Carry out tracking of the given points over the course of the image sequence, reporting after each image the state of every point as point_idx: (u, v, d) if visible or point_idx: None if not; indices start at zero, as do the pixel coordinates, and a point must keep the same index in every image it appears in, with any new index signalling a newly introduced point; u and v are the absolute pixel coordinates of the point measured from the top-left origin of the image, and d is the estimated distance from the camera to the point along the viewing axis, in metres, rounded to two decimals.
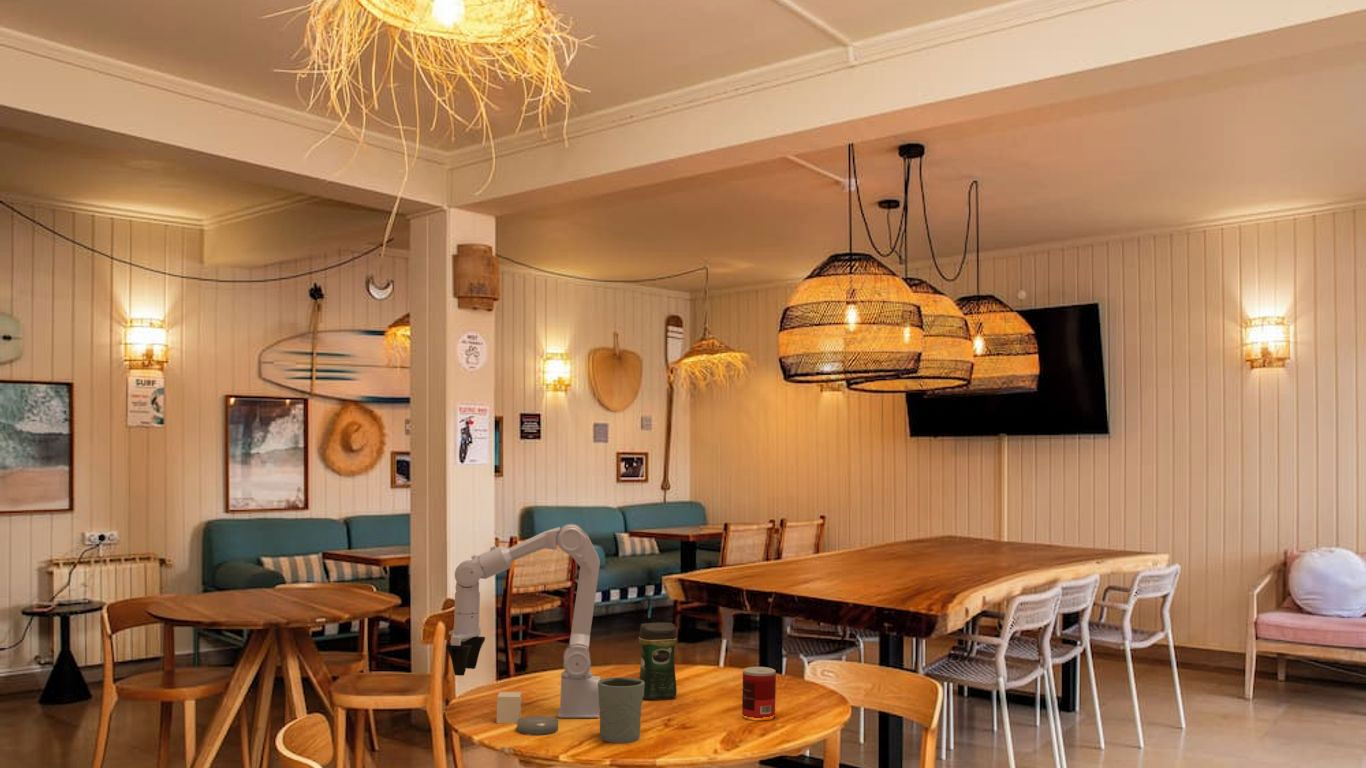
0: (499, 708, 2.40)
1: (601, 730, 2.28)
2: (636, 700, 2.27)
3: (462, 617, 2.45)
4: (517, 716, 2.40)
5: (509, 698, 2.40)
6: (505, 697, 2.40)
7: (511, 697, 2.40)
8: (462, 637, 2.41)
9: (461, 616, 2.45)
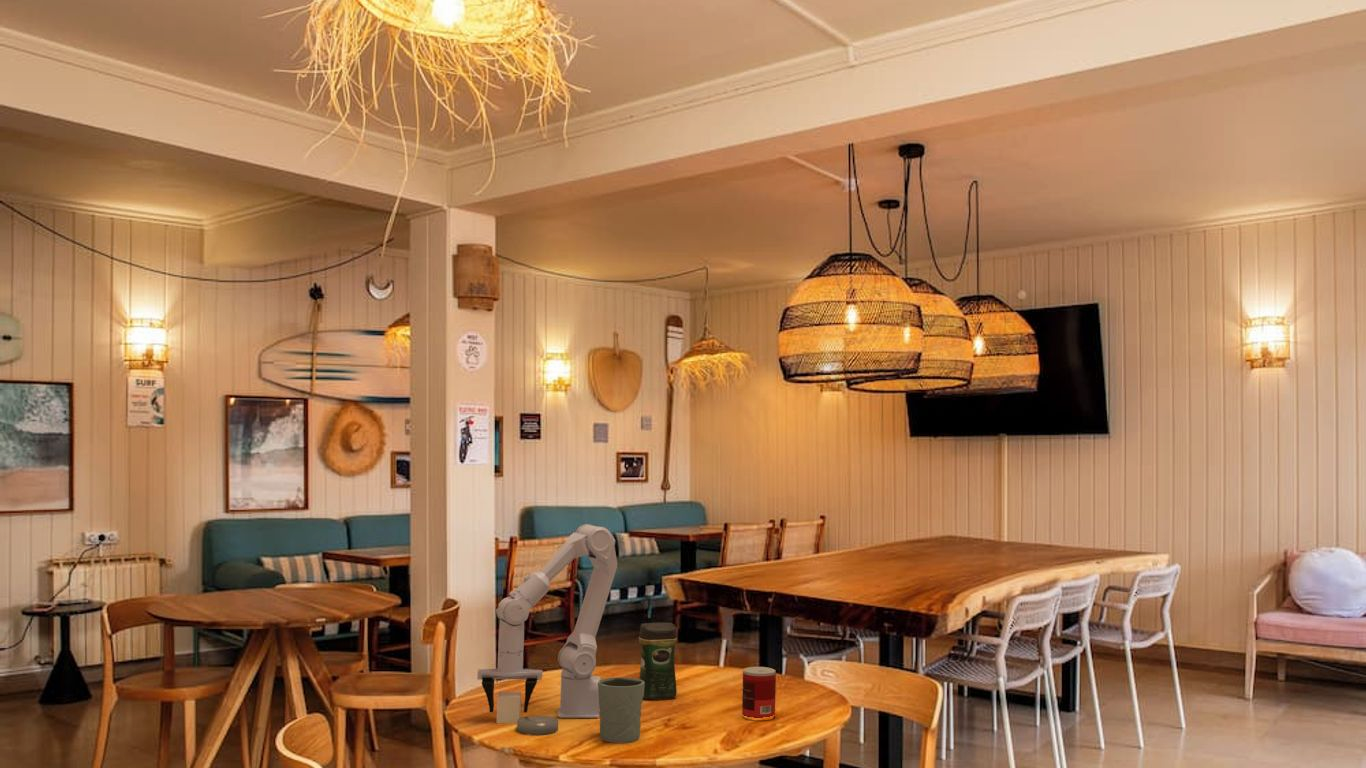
0: (499, 708, 2.40)
1: (601, 730, 2.28)
2: (636, 700, 2.27)
3: (498, 653, 2.43)
4: (517, 716, 2.40)
5: (509, 698, 2.40)
6: (505, 697, 2.40)
7: (511, 697, 2.40)
8: (483, 672, 2.41)
9: None
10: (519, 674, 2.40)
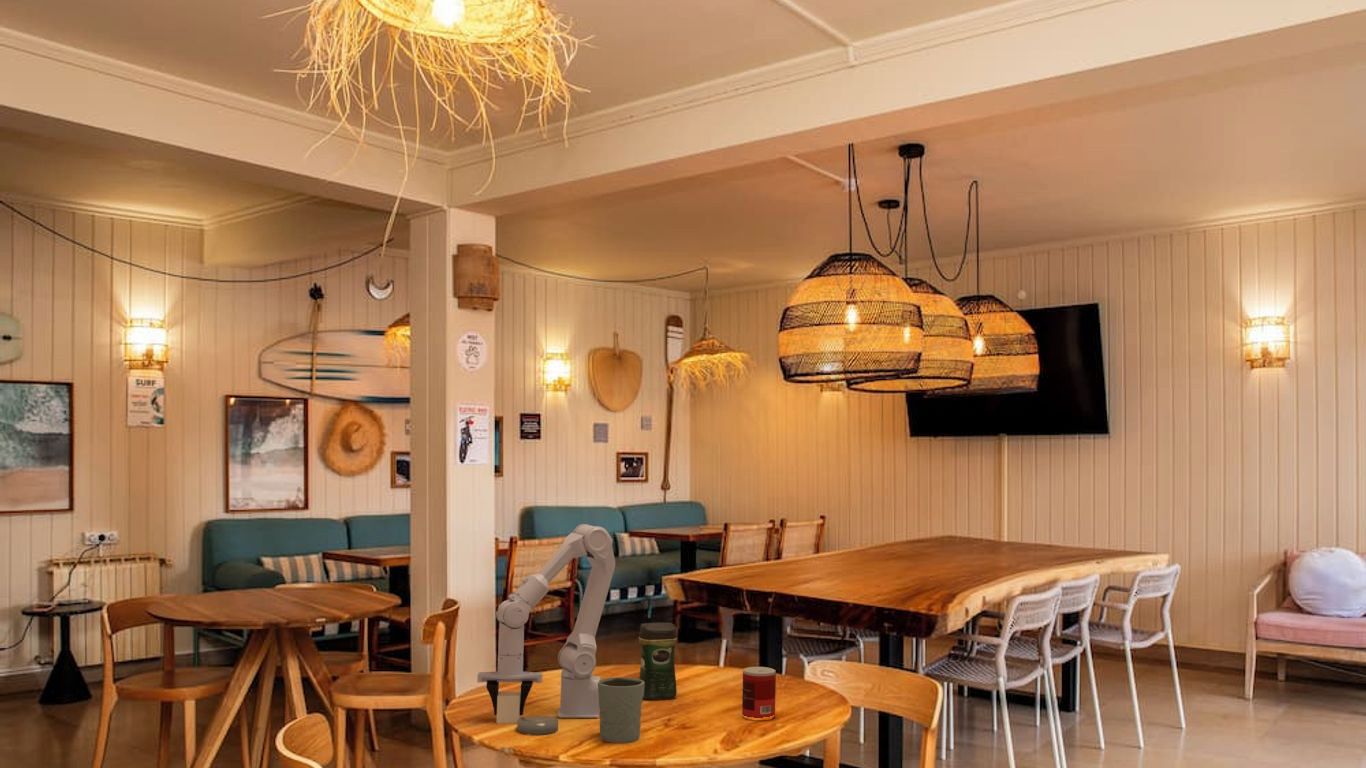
0: (499, 708, 2.40)
1: (601, 730, 2.28)
2: (636, 700, 2.27)
3: (498, 656, 2.43)
4: (517, 716, 2.40)
5: (509, 698, 2.40)
6: (505, 697, 2.40)
7: (511, 697, 2.40)
8: (483, 675, 2.41)
9: None
10: (519, 677, 2.40)
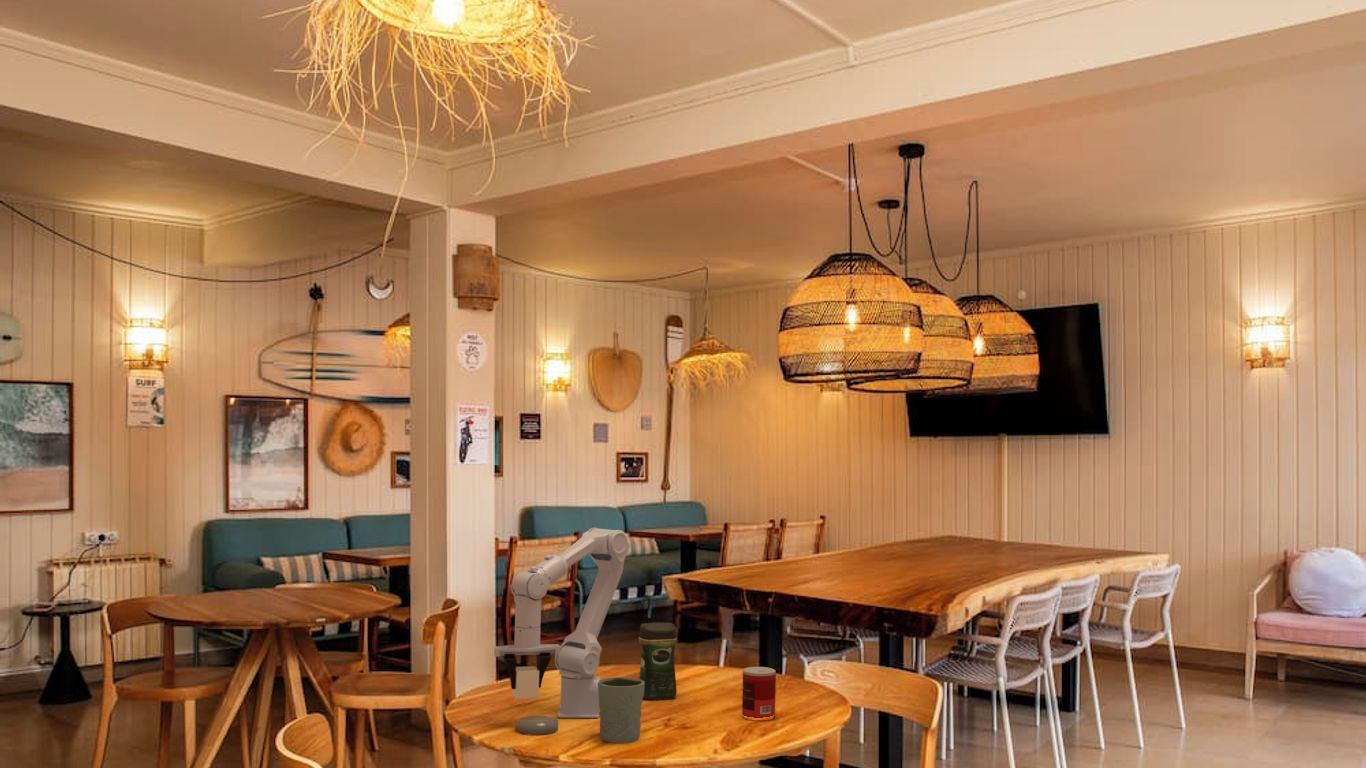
0: (518, 683, 2.35)
1: (601, 730, 2.28)
2: (636, 700, 2.27)
3: (515, 629, 2.38)
4: (537, 690, 2.37)
5: (529, 672, 2.36)
6: (524, 671, 2.36)
7: (530, 671, 2.37)
8: (502, 649, 2.36)
9: (515, 628, 2.39)
10: (539, 649, 2.37)
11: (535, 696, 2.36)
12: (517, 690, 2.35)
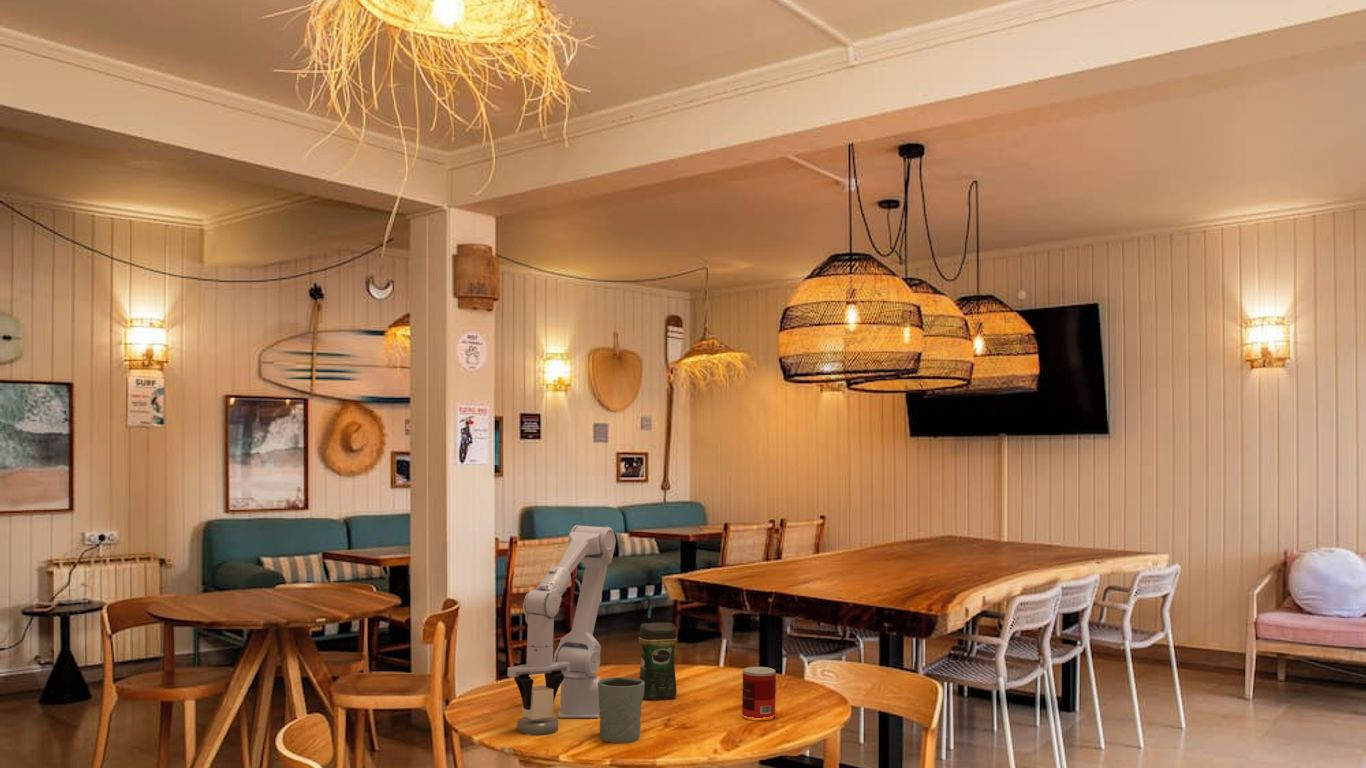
0: (534, 704, 2.32)
1: (601, 730, 2.28)
2: (636, 700, 2.27)
3: (528, 649, 2.34)
4: (551, 709, 2.34)
5: (544, 692, 2.33)
6: (540, 691, 2.33)
7: (545, 690, 2.34)
8: (517, 669, 2.31)
9: (528, 648, 2.34)
10: (553, 667, 2.35)
11: (550, 715, 2.34)
12: (533, 710, 2.32)
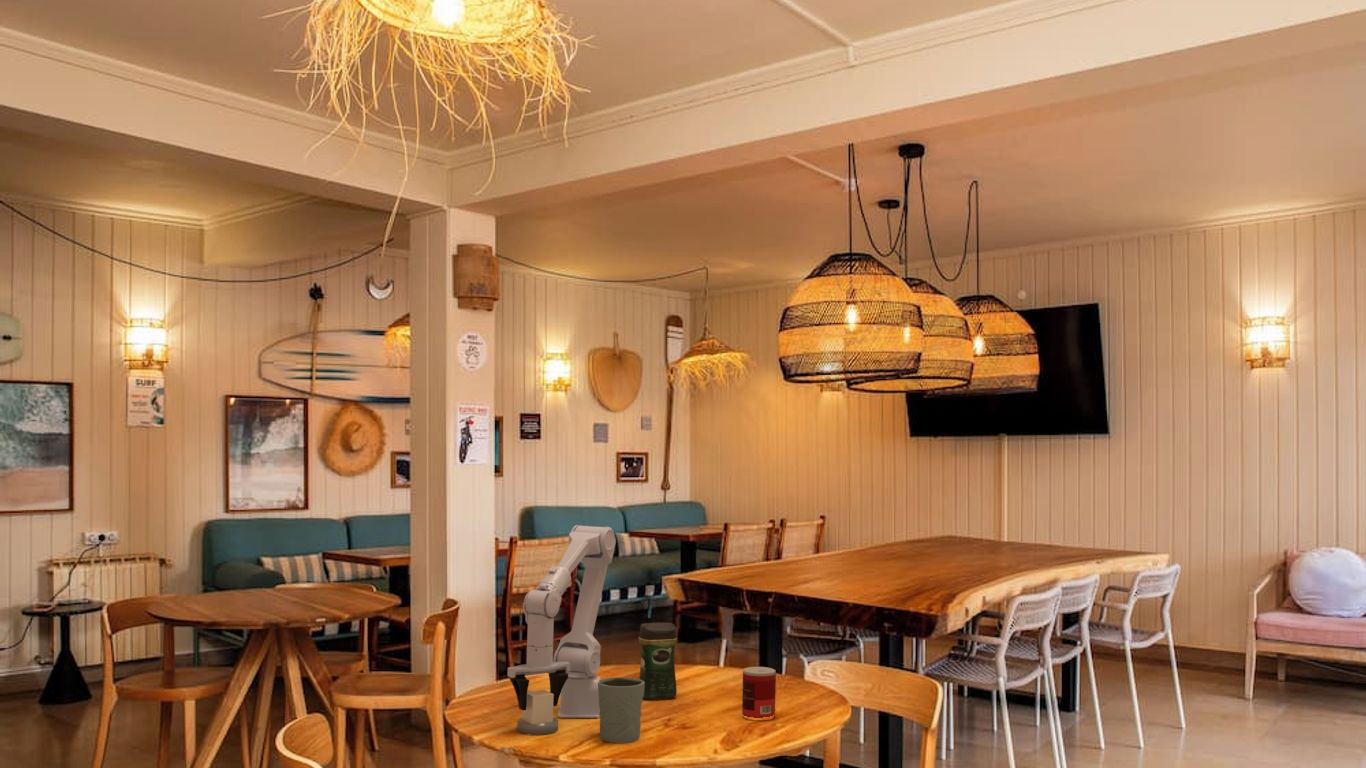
0: (534, 708, 2.32)
1: (601, 730, 2.28)
2: (636, 700, 2.27)
3: (528, 649, 2.34)
4: (551, 714, 2.34)
5: (544, 696, 2.33)
6: (540, 696, 2.33)
7: (545, 695, 2.34)
8: (517, 669, 2.31)
9: (528, 648, 2.34)
10: (553, 667, 2.35)
11: (550, 720, 2.34)
12: (533, 715, 2.32)
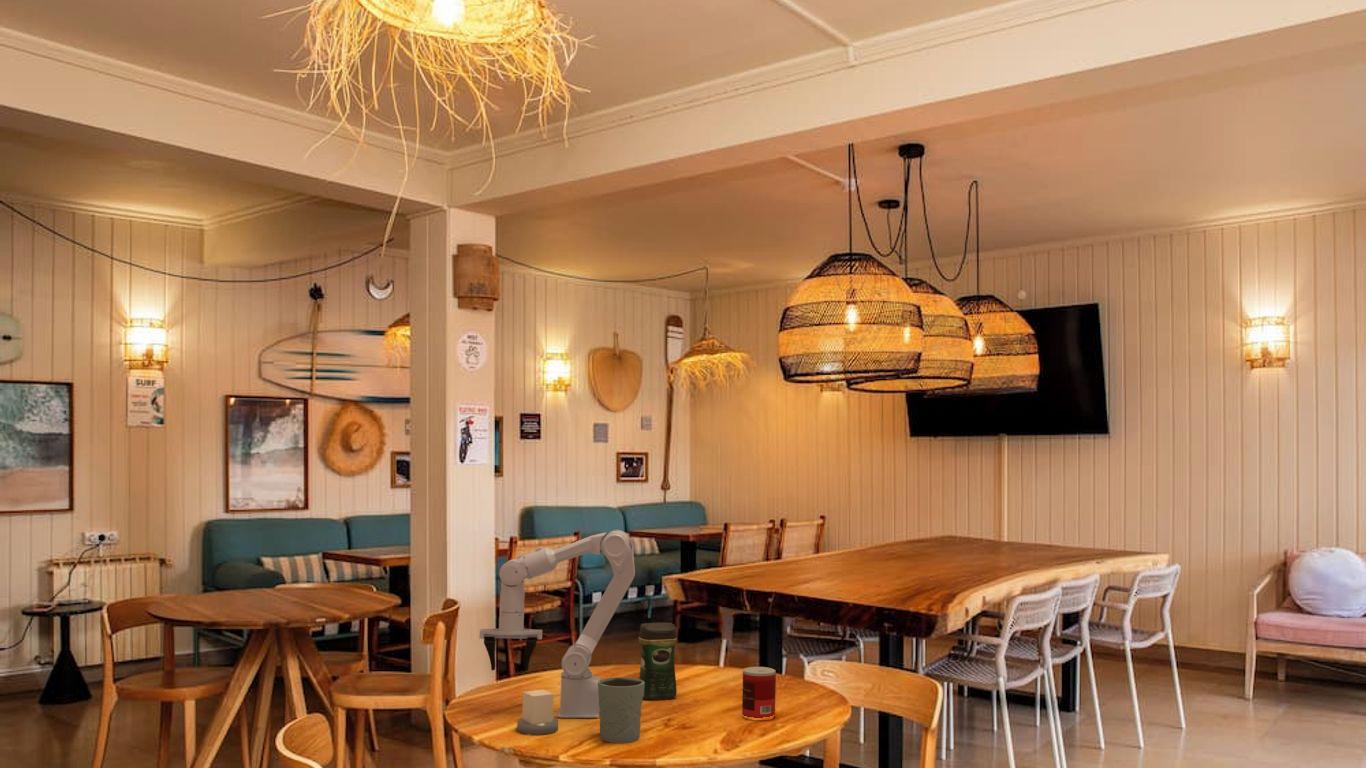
0: (534, 708, 2.32)
1: (601, 730, 2.28)
2: (636, 700, 2.27)
3: None
4: (551, 714, 2.34)
5: (544, 696, 2.33)
6: (540, 696, 2.33)
7: (545, 695, 2.34)
8: (485, 631, 2.49)
9: None
10: (520, 633, 2.48)
11: (550, 720, 2.34)
12: (533, 715, 2.32)
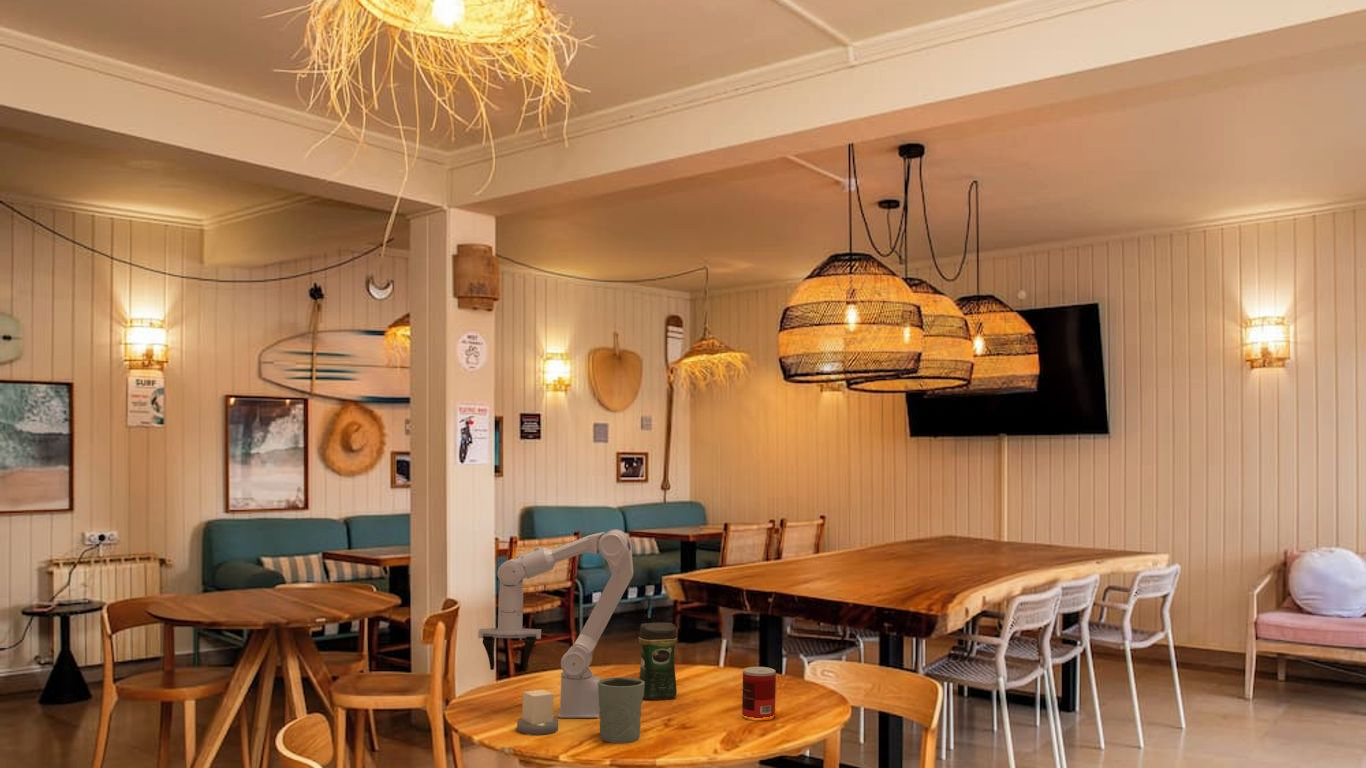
0: (534, 708, 2.32)
1: (601, 730, 2.28)
2: (636, 700, 2.27)
3: (498, 613, 2.51)
4: (551, 714, 2.34)
5: (544, 696, 2.33)
6: (540, 696, 2.33)
7: (545, 695, 2.34)
8: (484, 631, 2.49)
9: None
10: (519, 633, 2.49)
11: (550, 720, 2.34)
12: (533, 715, 2.32)
